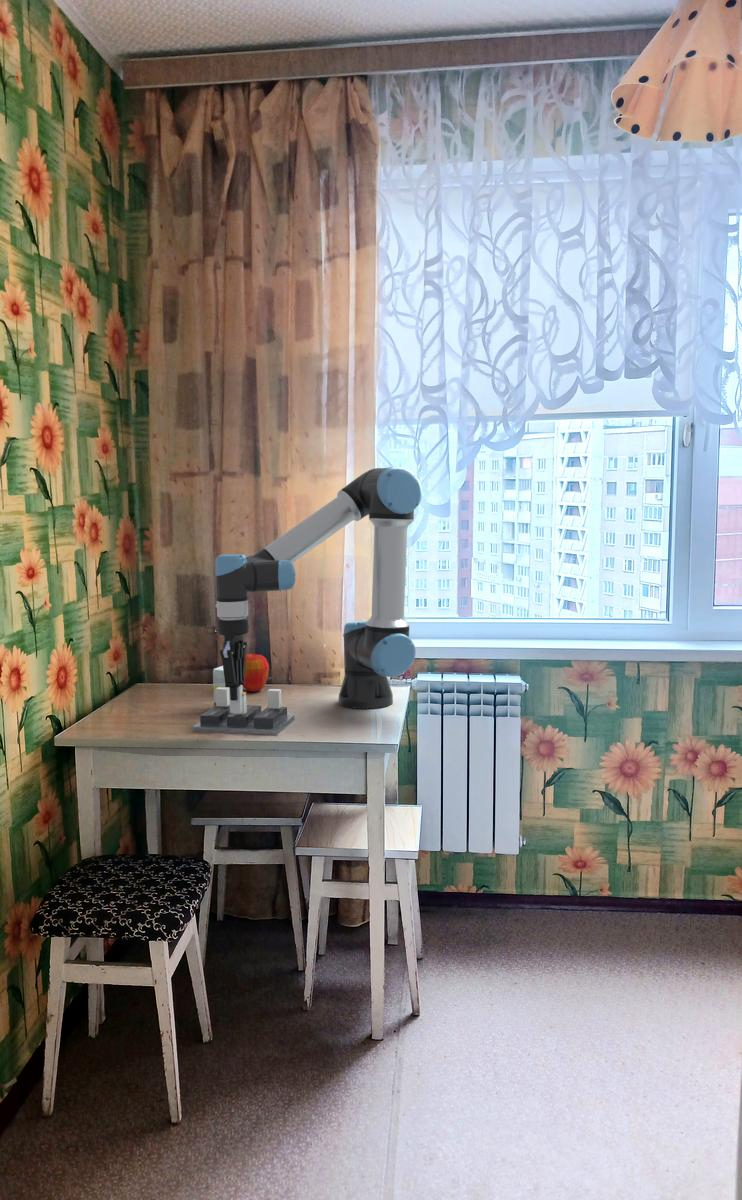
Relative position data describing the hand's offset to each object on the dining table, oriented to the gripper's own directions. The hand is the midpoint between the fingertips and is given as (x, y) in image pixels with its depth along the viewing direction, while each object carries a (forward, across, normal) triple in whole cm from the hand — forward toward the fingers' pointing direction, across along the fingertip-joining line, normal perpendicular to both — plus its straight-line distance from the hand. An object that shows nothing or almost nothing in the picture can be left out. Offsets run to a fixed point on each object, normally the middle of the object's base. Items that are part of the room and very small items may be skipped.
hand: (236, 712), depth 226 cm
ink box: (+5, -22, -10) cm, 24 cm away
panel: (+5, -6, 0) cm, 8 cm away
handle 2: (+1, -10, +7) cm, 12 cm away
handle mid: (+1, -3, 0) cm, 3 cm away
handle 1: (+1, -10, -7) cm, 12 cm away
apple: (+5, -44, -10) cm, 46 cm away
